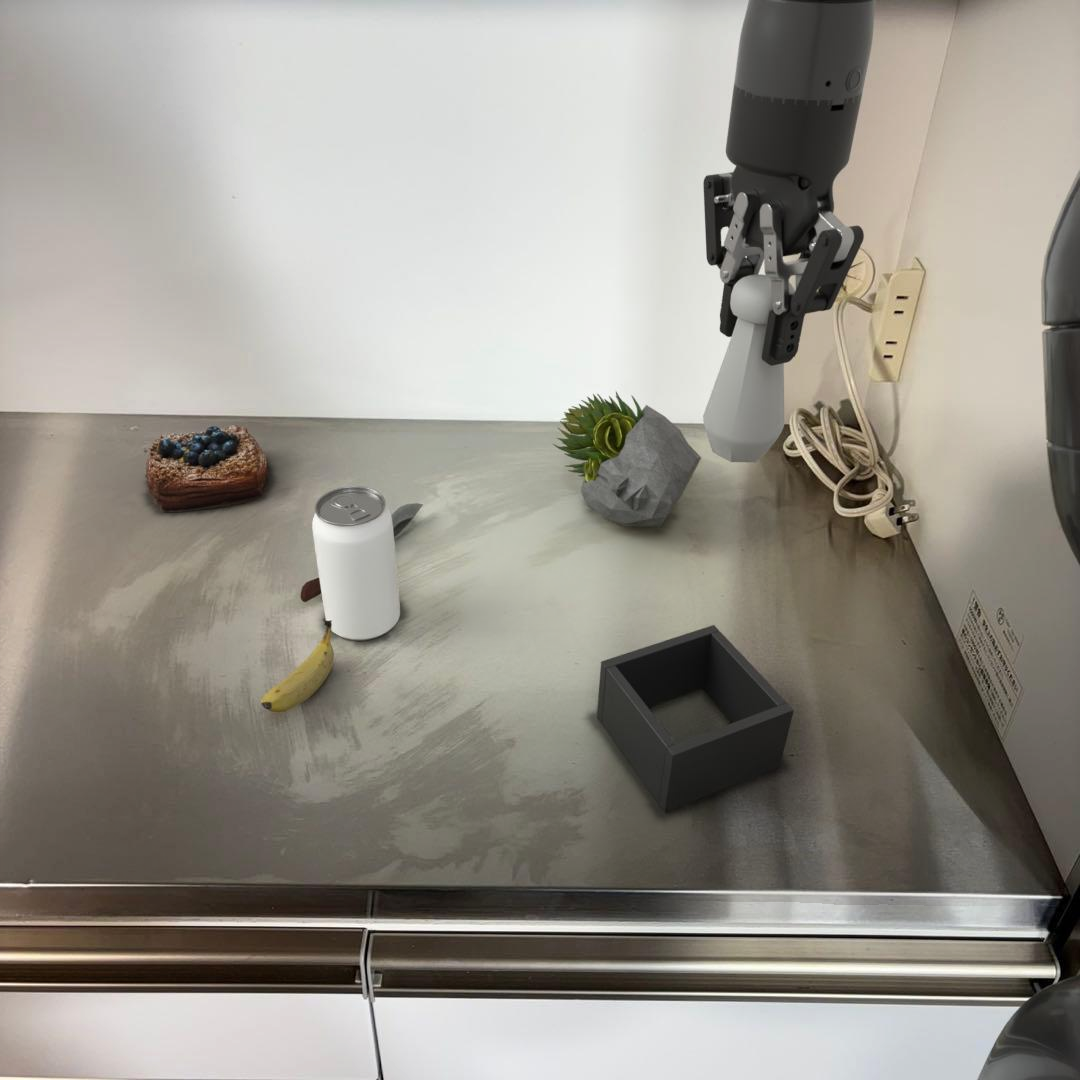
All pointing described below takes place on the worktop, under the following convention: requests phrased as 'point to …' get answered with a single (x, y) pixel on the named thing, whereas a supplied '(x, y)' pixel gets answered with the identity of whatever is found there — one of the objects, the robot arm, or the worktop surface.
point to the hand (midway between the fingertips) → (755, 346)
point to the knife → (399, 522)
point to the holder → (706, 757)
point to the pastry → (206, 469)
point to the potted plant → (628, 460)
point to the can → (356, 562)
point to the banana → (302, 678)
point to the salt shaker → (747, 381)
